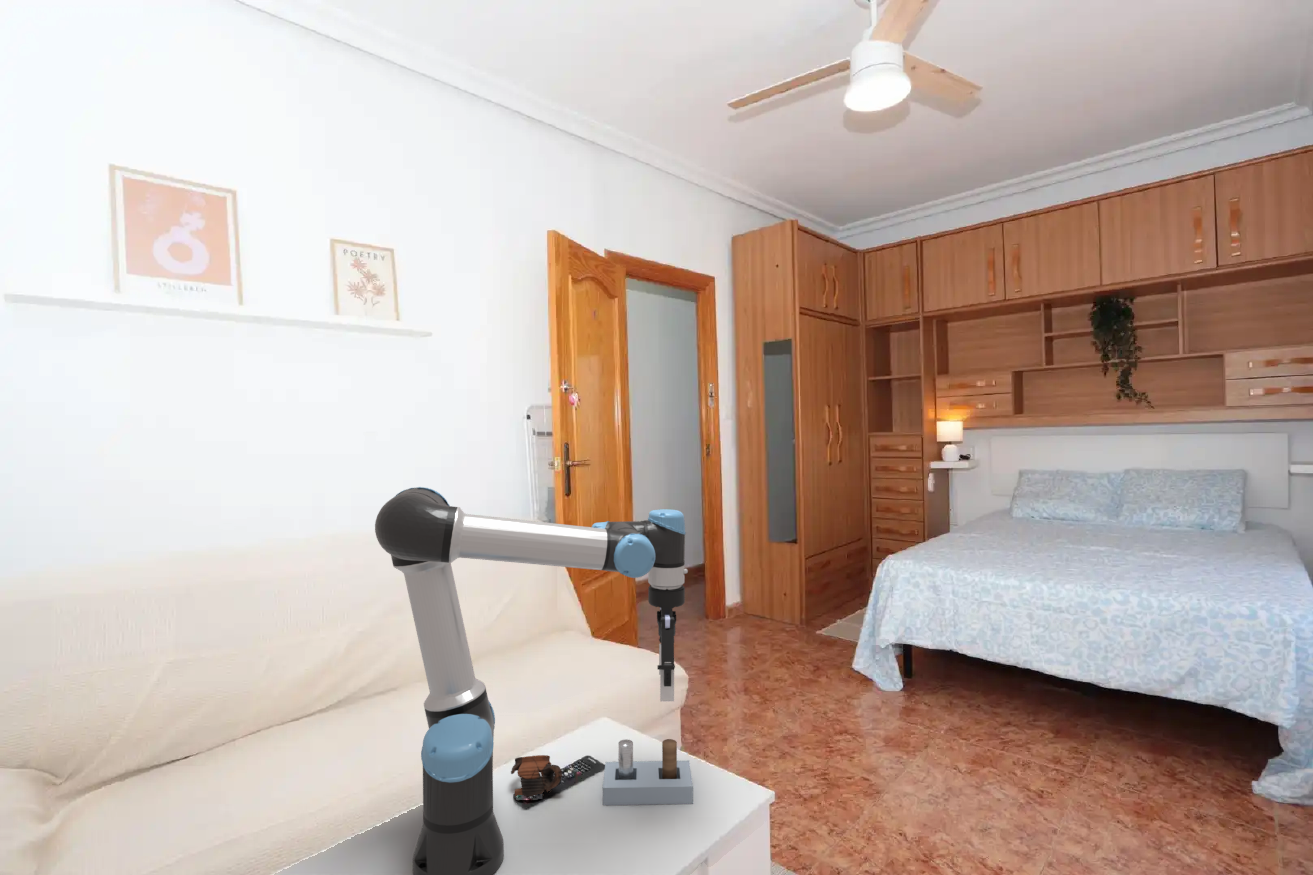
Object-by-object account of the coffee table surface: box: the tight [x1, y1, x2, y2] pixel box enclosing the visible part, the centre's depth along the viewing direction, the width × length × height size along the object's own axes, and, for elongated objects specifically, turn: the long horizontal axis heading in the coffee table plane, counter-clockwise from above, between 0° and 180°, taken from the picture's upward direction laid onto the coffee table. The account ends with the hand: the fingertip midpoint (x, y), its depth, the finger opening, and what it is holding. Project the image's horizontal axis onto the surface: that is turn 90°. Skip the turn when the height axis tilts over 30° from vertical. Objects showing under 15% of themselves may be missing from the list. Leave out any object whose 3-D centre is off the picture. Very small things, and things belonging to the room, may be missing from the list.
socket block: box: [602, 759, 694, 806], centre depth 135 cm, size 18×10×4 cm, turn 91°
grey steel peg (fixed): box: [618, 738, 634, 780], centre depth 135 cm, size 3×3×10 cm
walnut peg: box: [661, 738, 678, 779], centre depth 135 cm, size 3×3×10 cm
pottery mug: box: [510, 754, 563, 797], centre depth 135 cm, size 12×10×8 cm
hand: (666, 686), depth 135 cm, fingers open, 13 cm apart
